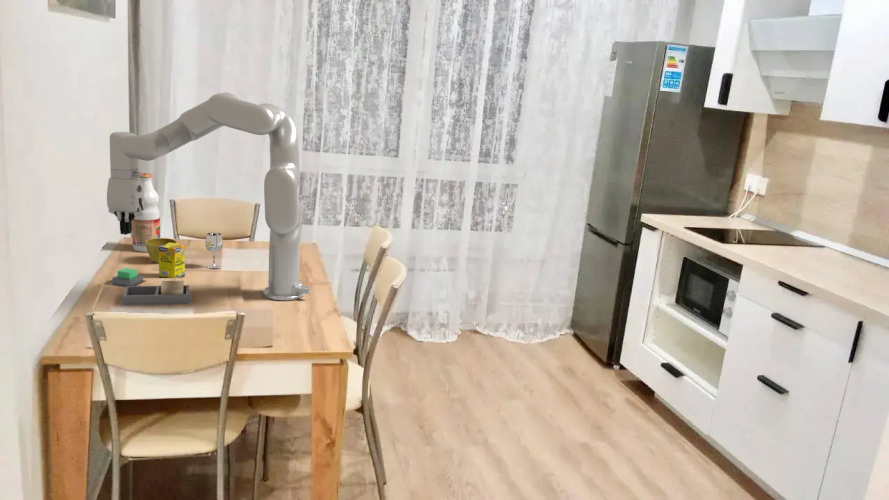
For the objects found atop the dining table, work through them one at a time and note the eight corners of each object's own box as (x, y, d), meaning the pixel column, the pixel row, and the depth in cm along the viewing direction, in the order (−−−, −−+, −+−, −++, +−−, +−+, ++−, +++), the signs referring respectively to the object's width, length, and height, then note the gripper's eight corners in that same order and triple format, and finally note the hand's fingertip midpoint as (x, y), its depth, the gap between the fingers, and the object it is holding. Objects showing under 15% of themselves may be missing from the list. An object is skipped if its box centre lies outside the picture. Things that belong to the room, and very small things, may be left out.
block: (183, 294, 208) (183, 280, 207) (183, 301, 202) (183, 286, 201) (162, 295, 206) (162, 280, 205) (161, 301, 200) (160, 287, 199)
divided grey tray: (191, 294, 211) (191, 284, 210) (191, 307, 201) (191, 296, 200) (124, 296, 205) (123, 285, 204) (120, 309, 195) (119, 297, 194)
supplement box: (175, 281, 222) (174, 248, 219) (158, 278, 223) (157, 246, 220) (185, 276, 228) (185, 244, 225) (169, 273, 229) (168, 242, 226)
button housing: (147, 283, 217) (147, 274, 216) (131, 291, 210) (131, 281, 209) (124, 280, 219) (124, 271, 218) (108, 287, 211) (107, 278, 210)
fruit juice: (128, 247, 253) (126, 172, 246) (154, 244, 260) (152, 171, 253) (138, 253, 247) (136, 176, 240) (164, 250, 254) (163, 175, 246)
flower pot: (163, 267, 235) (163, 247, 233) (139, 262, 237) (138, 242, 236) (182, 260, 244) (182, 241, 242) (158, 255, 247) (158, 236, 245)
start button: (137, 277, 215) (137, 269, 214) (129, 280, 211) (129, 272, 211) (126, 275, 216) (125, 267, 215) (117, 278, 212) (117, 271, 211)
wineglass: (209, 270, 236) (209, 236, 233) (202, 266, 240) (202, 232, 237) (225, 268, 239) (225, 235, 236) (218, 264, 244) (218, 231, 240)
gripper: (154, 175, 208) (155, 234, 212) (110, 169, 210) (112, 227, 215) (139, 178, 200) (140, 239, 205) (93, 172, 203) (95, 232, 207)
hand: (126, 233), depth 210 cm, fingers closed
